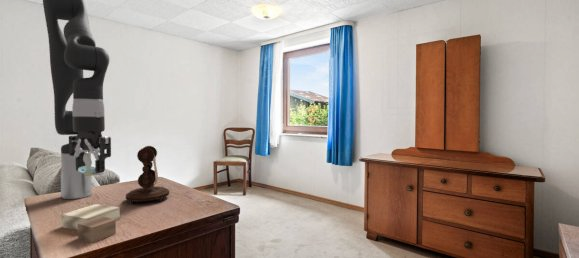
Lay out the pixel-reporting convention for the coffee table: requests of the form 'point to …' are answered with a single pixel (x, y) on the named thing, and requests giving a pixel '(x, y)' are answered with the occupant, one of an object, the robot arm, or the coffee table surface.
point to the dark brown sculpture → (147, 179)
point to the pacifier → (88, 167)
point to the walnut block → (96, 229)
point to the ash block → (89, 215)
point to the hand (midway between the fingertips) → (90, 171)
